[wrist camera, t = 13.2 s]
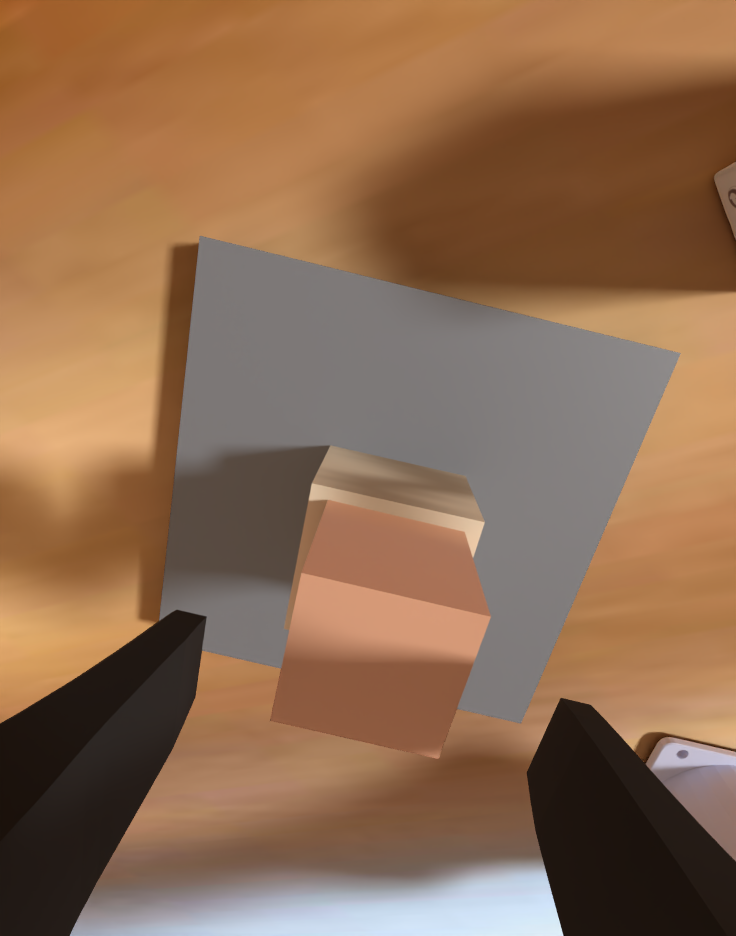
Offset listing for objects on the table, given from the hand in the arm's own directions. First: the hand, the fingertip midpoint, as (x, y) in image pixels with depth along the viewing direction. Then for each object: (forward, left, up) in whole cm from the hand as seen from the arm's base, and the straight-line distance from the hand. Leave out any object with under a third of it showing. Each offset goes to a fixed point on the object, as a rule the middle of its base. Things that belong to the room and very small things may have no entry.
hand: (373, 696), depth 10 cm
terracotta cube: (0, 0, -5) cm, 5 cm away
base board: (0, 0, -10) cm, 10 cm away
